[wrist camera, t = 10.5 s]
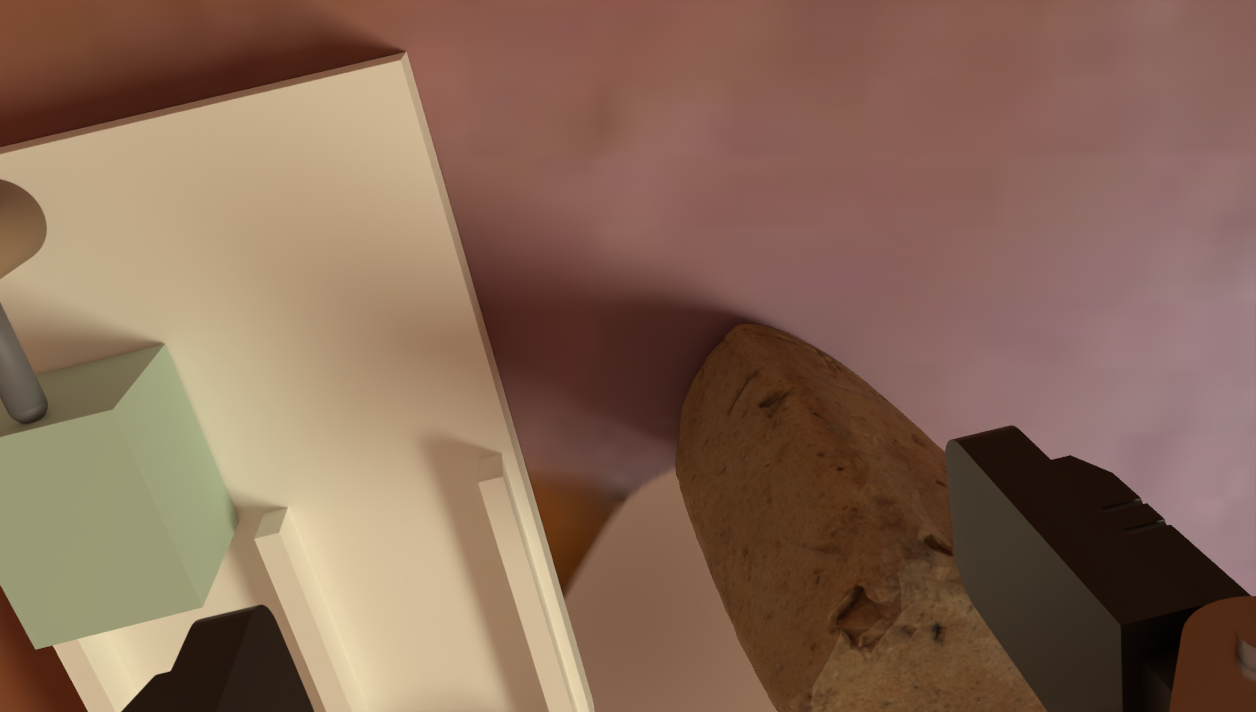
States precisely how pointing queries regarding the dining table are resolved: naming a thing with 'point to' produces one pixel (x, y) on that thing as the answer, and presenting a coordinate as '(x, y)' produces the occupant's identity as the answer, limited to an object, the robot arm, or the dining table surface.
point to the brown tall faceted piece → (832, 537)
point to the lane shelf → (310, 387)
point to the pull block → (99, 480)
